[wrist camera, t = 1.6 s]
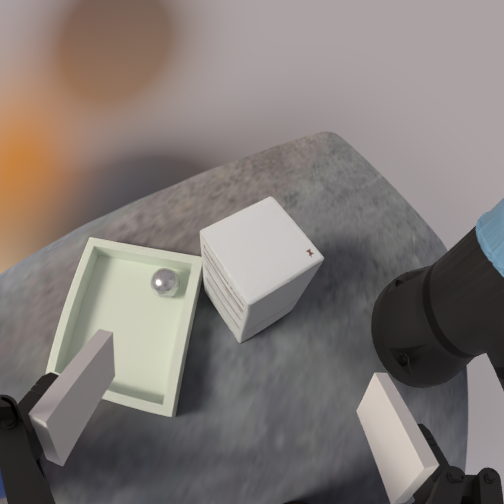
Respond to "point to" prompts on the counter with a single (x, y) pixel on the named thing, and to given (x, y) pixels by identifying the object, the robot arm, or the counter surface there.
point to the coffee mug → (296, 503)
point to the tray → (132, 321)
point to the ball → (165, 283)
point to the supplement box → (256, 266)
